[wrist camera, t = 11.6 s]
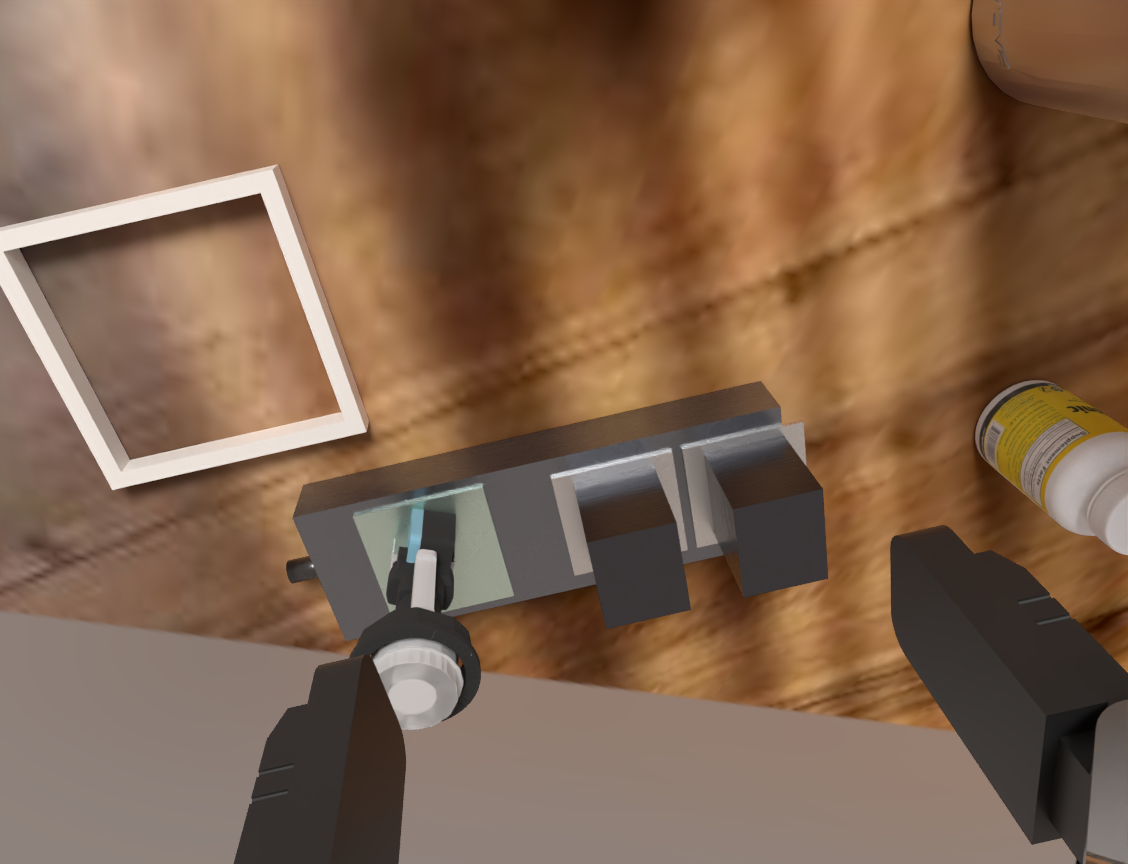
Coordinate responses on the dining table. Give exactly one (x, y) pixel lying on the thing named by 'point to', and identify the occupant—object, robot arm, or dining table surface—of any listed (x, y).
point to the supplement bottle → (1060, 457)
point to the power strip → (509, 495)
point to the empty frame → (12, 272)
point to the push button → (423, 629)
